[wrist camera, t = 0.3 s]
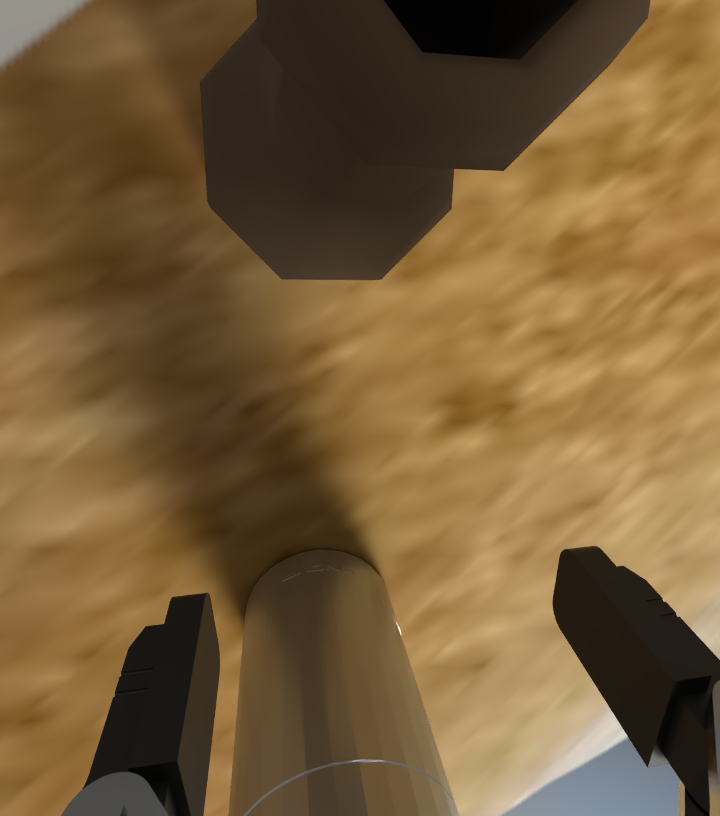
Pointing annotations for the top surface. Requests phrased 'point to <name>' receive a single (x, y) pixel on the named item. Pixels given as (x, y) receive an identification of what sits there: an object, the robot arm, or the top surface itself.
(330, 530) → the top surface
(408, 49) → the beer bottle
